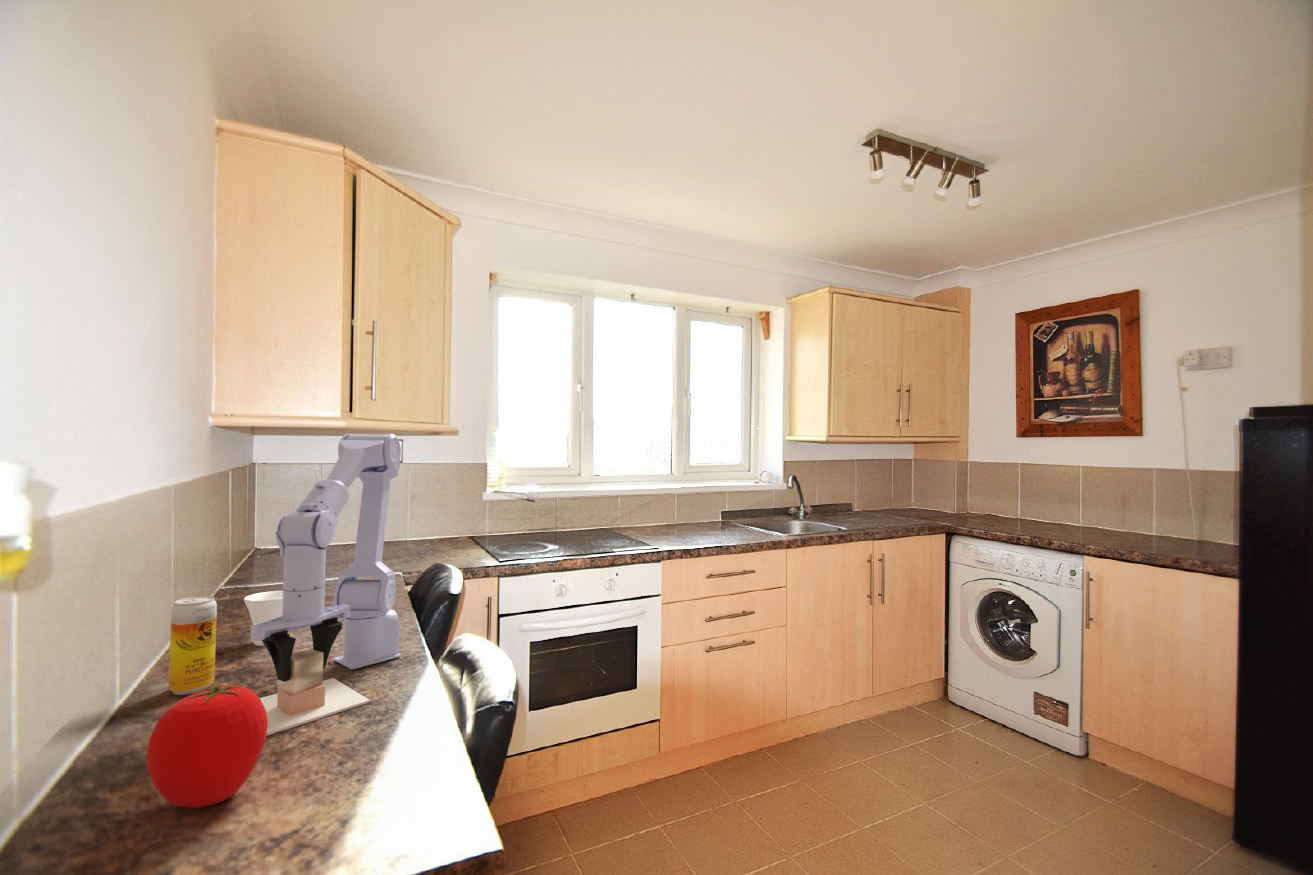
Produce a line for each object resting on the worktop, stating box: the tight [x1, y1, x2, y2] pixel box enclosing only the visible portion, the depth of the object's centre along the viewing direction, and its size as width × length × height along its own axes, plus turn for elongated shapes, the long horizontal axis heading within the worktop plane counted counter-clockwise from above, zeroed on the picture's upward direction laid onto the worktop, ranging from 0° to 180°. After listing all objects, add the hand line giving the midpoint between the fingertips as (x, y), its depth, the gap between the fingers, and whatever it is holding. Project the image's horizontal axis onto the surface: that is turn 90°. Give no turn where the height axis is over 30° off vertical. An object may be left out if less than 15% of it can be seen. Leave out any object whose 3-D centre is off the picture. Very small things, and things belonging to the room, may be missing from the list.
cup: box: [243, 590, 283, 647], centre depth 123 cm, size 9×9×10 cm
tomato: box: [146, 682, 268, 809], centre depth 68 cm, size 11×11×13 cm
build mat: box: [259, 677, 371, 737], centre depth 92 cm, size 16×14×1 cm
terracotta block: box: [277, 684, 325, 716], centre depth 92 cm, size 5×5×3 cm
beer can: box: [168, 595, 218, 696], centre depth 99 cm, size 6×6×15 cm
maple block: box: [276, 647, 324, 694], centre depth 92 cm, size 4×4×5 cm
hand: (301, 673), depth 92 cm, fingers open, 5 cm apart
